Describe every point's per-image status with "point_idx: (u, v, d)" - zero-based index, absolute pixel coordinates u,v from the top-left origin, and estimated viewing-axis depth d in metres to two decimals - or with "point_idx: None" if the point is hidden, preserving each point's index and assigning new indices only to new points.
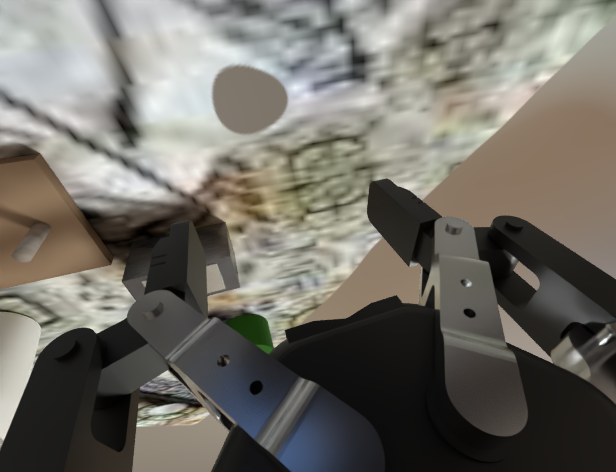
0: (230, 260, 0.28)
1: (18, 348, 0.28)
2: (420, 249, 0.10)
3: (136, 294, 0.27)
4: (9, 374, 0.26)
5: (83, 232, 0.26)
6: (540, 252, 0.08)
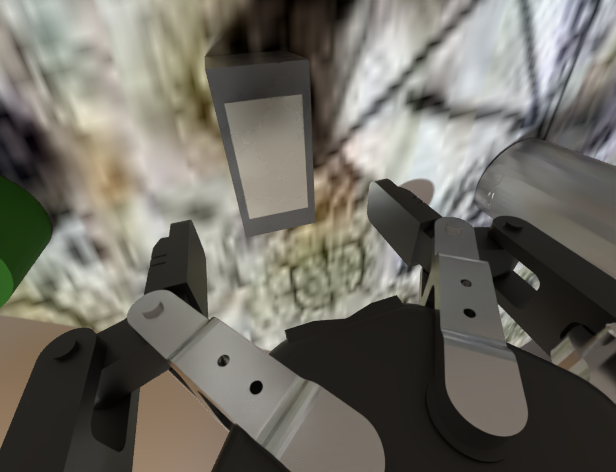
0: (307, 222, 0.20)
1: None
2: (420, 249, 0.10)
3: (268, 72, 0.13)
4: None
5: None
6: (540, 252, 0.08)
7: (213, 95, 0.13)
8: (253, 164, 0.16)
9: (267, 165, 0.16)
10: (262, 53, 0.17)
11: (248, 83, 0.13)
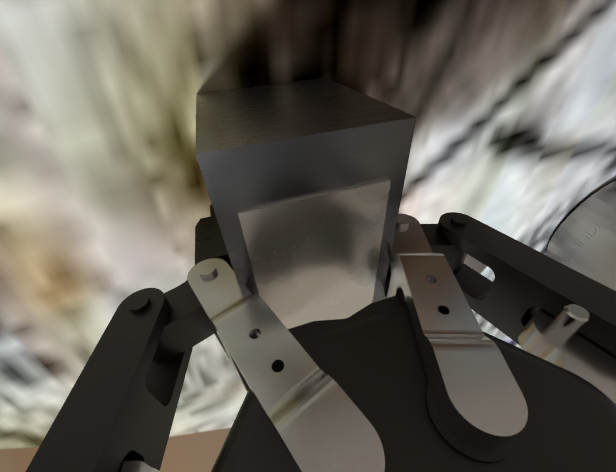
0: None
1: None
2: None
3: (331, 148, 0.06)
4: None
5: None
6: (489, 245, 0.08)
7: (215, 201, 0.06)
8: (287, 293, 0.09)
9: (311, 290, 0.09)
10: (297, 88, 0.10)
11: (289, 170, 0.06)
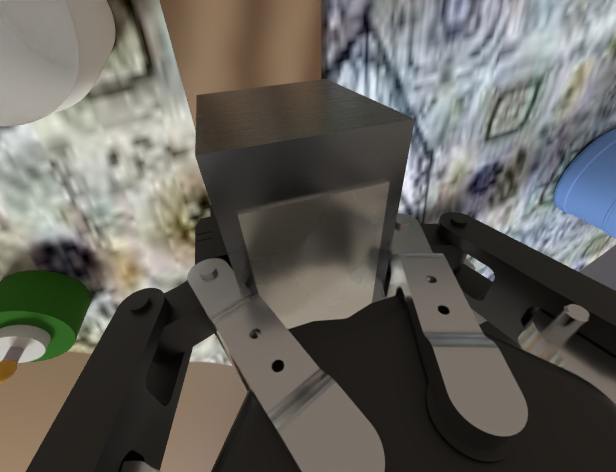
0: None
1: None
2: None
3: (330, 150, 0.06)
4: None
5: None
6: (489, 245, 0.08)
7: (214, 202, 0.06)
8: (286, 294, 0.09)
9: (311, 291, 0.09)
10: (296, 89, 0.10)
11: (288, 172, 0.06)
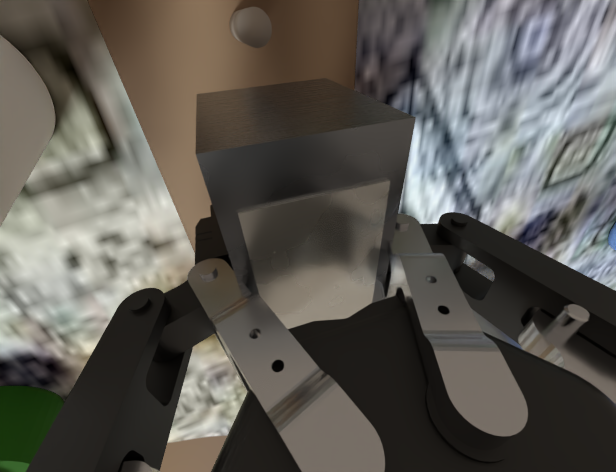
0: None
1: None
2: None
3: (331, 148, 0.06)
4: None
5: None
6: (489, 245, 0.08)
7: (215, 201, 0.06)
8: (287, 293, 0.09)
9: (311, 291, 0.09)
10: (296, 88, 0.10)
11: (289, 171, 0.06)
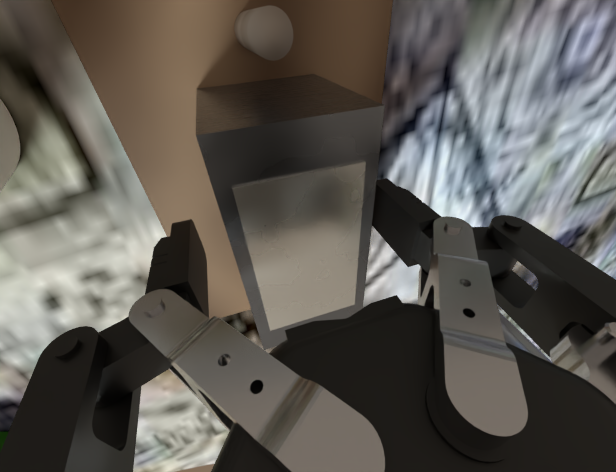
0: None
1: None
2: (419, 249, 0.10)
3: (311, 132, 0.07)
4: None
5: None
6: (539, 252, 0.08)
7: (212, 177, 0.07)
8: (278, 266, 0.10)
9: (299, 264, 0.10)
10: (286, 83, 0.11)
11: (275, 151, 0.07)
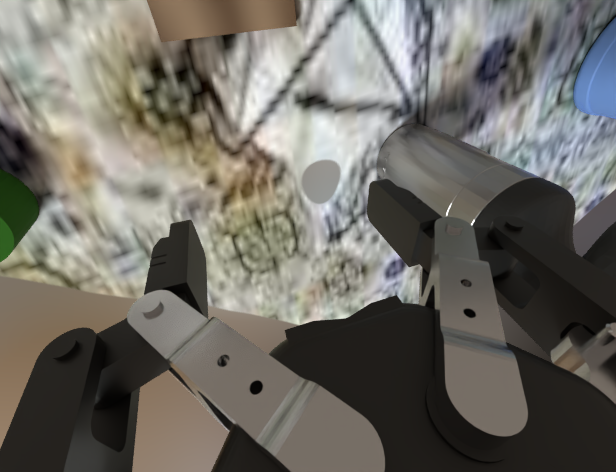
0: None
1: None
2: (420, 249, 0.10)
3: None
4: None
5: (215, 31, 0.24)
6: (540, 252, 0.08)
7: None
8: None
9: None
10: None
11: None
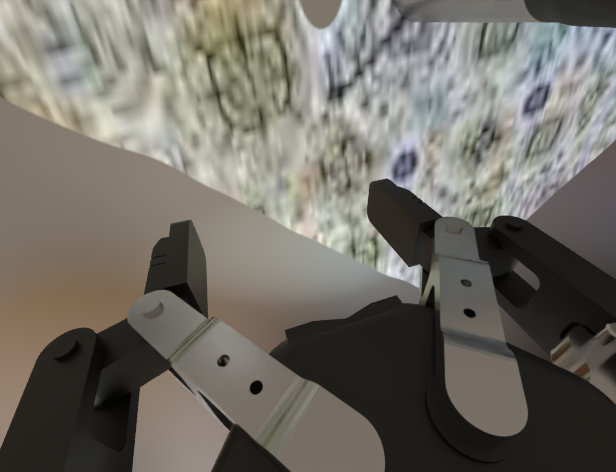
0: None
1: None
2: (420, 249, 0.10)
3: None
4: None
5: None
6: (540, 252, 0.08)
7: None
8: None
9: None
10: None
11: None
